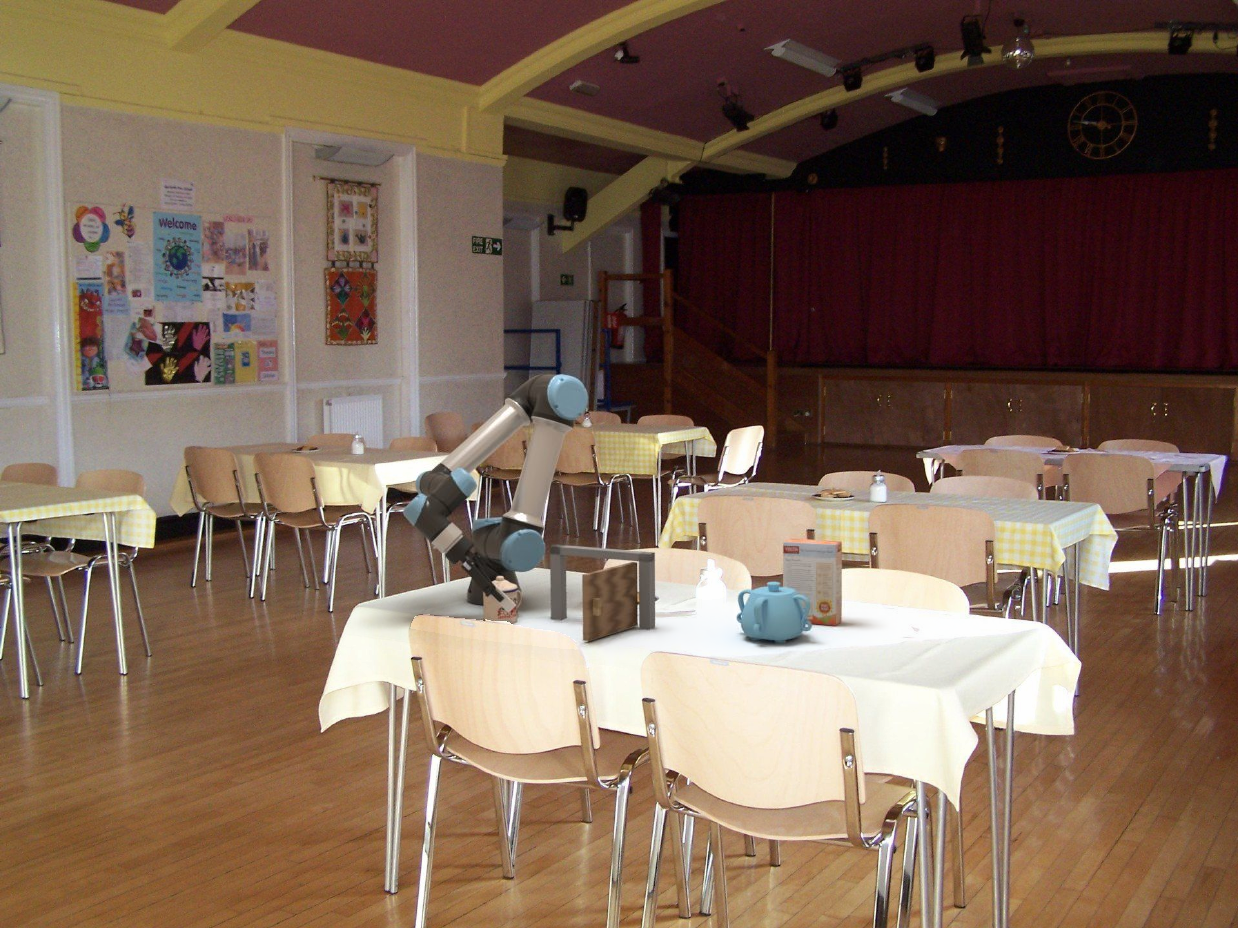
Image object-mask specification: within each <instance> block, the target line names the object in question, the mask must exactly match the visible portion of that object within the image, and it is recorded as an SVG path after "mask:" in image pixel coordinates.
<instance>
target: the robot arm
mask: <svg viewBox="0 0 1238 928" xmlns="http://www.w3.org/2000/svg"><path fill="white" fill-rule="evenodd" d="M588 404H589V395H588V391H587V389H586V387H585V385H584V383H583V382H582V381H581V380H580V379H578V378H577V377H575V376H572V375H568V374H563V373H562V374H561V373H560V374H550V373H541V374H538V375H537V374H536V375H535V376H533V377H531V378H530V379H528V380H526V381H525V382H524V383H523V384H522V385H520V386H519V387H518V388H516V389H515V391H513V392H512V393H511V394H510V395H509V396H507V398H506V399H505V400H504V405H503V406H502V407H501V408H500V409H499V410H497V411H496V412H495V413H494V414H493V415H491V417H490V418H489V419H487V420H486V421H485V422H484V423H483V424H482V425H481V426H480V427H479V428H478V429H477V430H475V431H474V432H473V433H472V434H471V435H470V436H468V438H467V439H465V440H464V441H463V442H462V443H461V444H459V445H458V446H457V447H456V448H455V449H454V450H453V451H452V452H451V453H450V454H448V455H447V456H446V457H445V458H444V459H443V460H442V461H441V462H440V463H438V464H437V465H436V466H434V468H432V469H431V470H427V471H423V472H421V473H420V474H419V475H418V476H417V478H416V480H415V490H416V492H417V493H418V494H417V495H416V496H415V497H414V498H413V499H412V500H411V501H410V502H409V503H408V504H407V505H406V506H405V507H404V509H403V510H402V513H403V516H404V517H405V518H406V519H407V521H408V522H409V523H410V524H411V525H412V527H413V528H415V529H416V530H417V531H418V532H419V533H420V534H421V535H422V536H423V537H424V538H426V539H427V540H428V542H430V544H432V546H433V549H434V550H438V551H439V552H440V553H441V554H444V556H445V557H444V558H446V559H447V560H448V561H449V562H450V563H451V565H457V564H458V562H459V561H460V562H461V564H462V565H461V566H460V567H461V569H463V571H465V572H466V573H467V575H469V577H470V578H471V579H470V582H469V584H468V588H467V592H466V601H467V602H469V603H470V604H472V605H473V604H474V605H482V606H484V600H483V592H484V593H485V596H487V597H488V596H489V595H490V594H491V595H490V596H491V597H492V598H493V599H494V600H495V601H497V602H498V603H499V604H500V605H501V606H502V607H503V608H504V609H505V610H506V611H507V612H508V613H509V612H510V611H511V610H512V609H513V608H514V607H515V606H516V604H515V603H514V602H513V601H511V600H510V599H509V598H508V597H507V596H506V595H505V594H504V593H503V592H502V591H501V590H500V589H499V588H498V587H497V588H496V586H495V585H494V584H493V583H492V581H494V580H496V577H497V576H503V577H504V580H507V581H508V582H510V583H513V584H515V585H517V587H518V590H519V591H520V592H521V594H522V592H523V591H522V588H521V586H520V582H519V579H518V577H517V574H516V572H517V573H526V572H527V573H528V572H529V571H532V570H534V569H535V568H536V567H537V566H539V565H540V563H541V562H542V560H543V559H544V556H545V552H546V543H545V541H544V538H543V534H544V531H545V525H544V523H543V522H542V517H543V512H544V509H545V507H546V503H547V500H548V497H549V492H550V490H551V485H552V483H553V478H554V475H555V472H556V468H557V464H558V460H559V457H560V455H561V451H562V447H563V443H564V440H565V436H566V435H567V434H568V433H569V432H571V431H573V429H574V426H575V422H576V419H578V418H581V416H583V414H584V413H585V412H586V410H587V407H588ZM532 423H533V424H534V428H533V431H532V434H531V437H530V441H529V445H528V448H527V452H526V454H525V459H524V462H523V466H522V469H521V473H520V476H519V479H518V483H517V486H516V489H515V492H514V497H513V499H512V503H511V507H510V509H509V510H508V512H505V513H504V514H503V515H502V516H500V517H498V516H497V517H488V518H477V519H474V520H473V522H472V524H471V525H472V527H471V531H470V532H471V539H470V538H469V537H468V536H467V535H463V531H462V530H461V529H460V528H459V527H458V526H457V525H455V523H453V522H452V521H451V520H450V518H449V517H450V516H451V515H452V514H453V513H454V512H455V511H456V510H457V509H458V508H459V507H460V506H461V505H462V504H463V503H465V501H466V500H467V499H469V498H470V497H471V495H472V494H473V493H474V492H475V491H476V489H477V488H478V485H477V481H476V480H475V478H474V477H473V476H472V475H471V473H472V472H473V471H474V470H475V469H477V468H478V467H479V466H480V465H481V464H482V463H483V462H484V461H485V460H486V459H487V458H488V457H491V455H492V454H493V453H494V452H496V450H497V449H498V448H499V447H501V446H502V445H503V444H504V443H505V442H507V440H508V441H509V439H510V438H511V437H512V436H513V435H515V433H516V432H518V431H519V430H521V428H523V426H526V427H528V426H530V425H531V424H532ZM471 550H472V551H471ZM522 595H523V594H522ZM517 598H518V595H517Z"/></svg>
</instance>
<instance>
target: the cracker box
mask: <svg viewBox="0 0 1238 928" xmlns="http://www.w3.org/2000/svg"><path fill="white" fill-rule="evenodd" d="M782 544H783V546H782V548H783V549H782V551H783V552H782V554H783V555H782V557H783V558H782V587H788V588H792V589H795V590H796V591H797V593H798V595H803V596H805V597H807V598H808V599H809V601H810V611H809V614H808V617H807V619H806V620H809V621H810V622H811V623H812V625H822V626H830V627H831V626H832V627H835V626H837V625H839V624H840V623H841V622H842V618H843V617H842V615H843V612H842V609H843V607H842V606H843V604H842V603H843V602H842V601H843V595H842V594H843V591H842V589H843V585H842V584H843V582H842V579H843V576H842V575H843V573H842V572H843V542H842V541H841V540H840V541H839V540H838V541H837V540H823V539H820V540H819V539H808V538H807V539H806V538H789V539H787V540H784V541H783V542H782ZM800 600H801V599H800ZM801 602H802V604H803V607H804V611H805V607H806V605H805V602H804V601H803V600H801Z"/></svg>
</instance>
